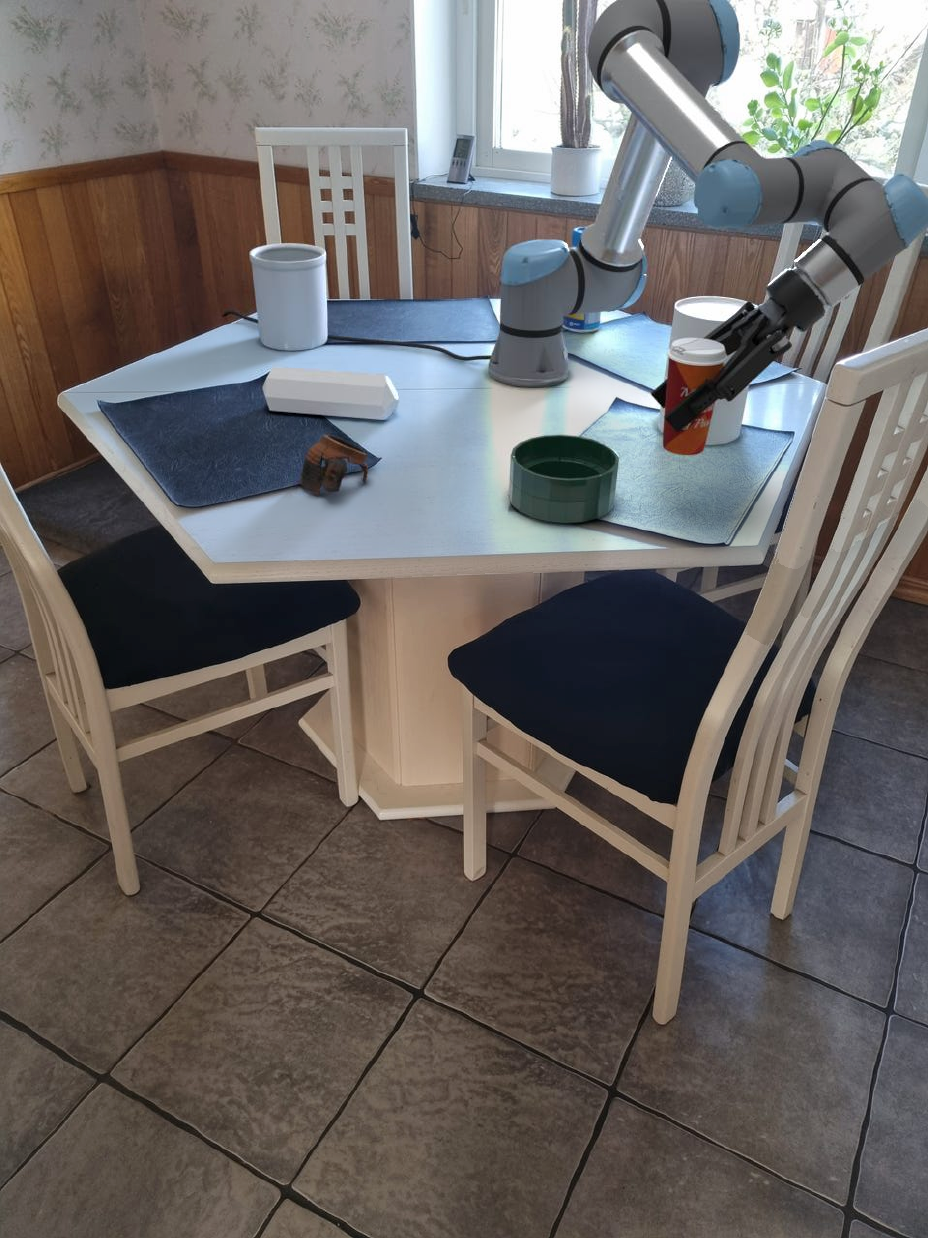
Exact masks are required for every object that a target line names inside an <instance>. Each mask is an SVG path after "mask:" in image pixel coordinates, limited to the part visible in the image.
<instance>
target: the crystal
mask: <svg viewBox="0 0 928 1238" xmlns="http://www.w3.org/2000/svg"><path fill="white" fill-rule="evenodd" d="M263 382H264V383H263V384H262V387H261V388H262V392H263V395H264V398H265V401H266V404H267V407H268V410H269V411H270V412H271V411H272V412H283V413H296V414H306V415H307V414H308V415H317V416H319V415H320V416H330V417H331V416H332V417H344V418H355V419H367V420H368V419H369V420H381V421H383V420H384V421H385V420H387V419H388V418H389V417H390V416H391V415H392V414H393V412H395V410H396V409H397V408H398V405H399V403H400V402H399V401H400V400H399V399H400V398H399V392H398V391H397V389H396V388H395V385H394V383H393V382H392V380H391V378H390V377H389V376H388V375H386V374H380V373H379V374H378V373H364V372H352V371H339V370H327V369H315V368H314V369H311V368H300V367H286V366H285V367H284V366H273V365H272V368H271V369H270V371H269V373H268V374H267V376H266V378H265V380H264V381H263Z"/></svg>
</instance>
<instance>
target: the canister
mask: <svg viewBox="0 0 928 1238" xmlns="http://www.w3.org/2000/svg"><path fill="white" fill-rule="evenodd" d="M746 302H748V301H747V300H743V299H738V298H734V297H725V296H716V295H715V296H714V295H703V296H701V295H700V296H691V297H686V298H682V299H679V300H677V301H676V302H675V304H674V307H673V314H672V315H673V316H672V323H671V330H670V337H669V344H668V350H669V349H670V348H671V344H672V343H673V342H674V341H675V340H678V339H682V338H704V337H705V336H707V335H708V334H709V333H711V332H712V331H713V330H714V329H716V328H717V327H718V326H720V325H721V324H722V323H724V322H725V321H726V320H727V319H729V318H730V317H731V316H733V315H734V314H735V313H736V312H737V311H738V310H739V309H740V308H741V307H742V306H743V305H744V304H745V303H746ZM752 304H753V305H754V306H755V307H758V306H759V305H757V304H755V303H753V302H752ZM735 352H736V351H735ZM735 352H733V353H732V354H730V355H728V356H727V357H728V359H727V361H726V362H724V365H725V364H726V363H727V362H728V360H729V359H730V358H731V357H732V356H733V354H734V353H735ZM668 364H669V357H668V356H667V359H666V365H665V373H664V380H663V382H664V381H665V380H666V379H667V377H668ZM724 365H723V366H724ZM749 387H750V384H749V385H748V386H747V387H746V388H745V389H744V390H742V391H741V392H740V393H739V394H738V395H737V396H736V397H735V398H734V399H733V400H732V401H729V402H728V401H727V400H726V399H722V400H720V399H718V400H716V401H715V405H714V409H713V414H712V418H711V422H710V427H709V431H708V435H707V439H706V443H705V446H718V445H723V444H724V445H725V444H728V443H731V442H733V441H736V440H737V439H738V438H739V437H740V435H741V430H742V425H743V419H744V415H745V411H746V410H745V409H746V404H747V400H748V393H749V389H750V388H749ZM664 416H665V408H664V409H663V407H662V406H661V405H660V409H659V417H658V424H657V427H658V430H659V432H661V433H662V434H663V430H664Z"/></svg>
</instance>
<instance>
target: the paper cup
mask: <svg viewBox="0 0 928 1238" xmlns="http://www.w3.org/2000/svg"><path fill="white" fill-rule="evenodd" d="M666 356H667V358H668V357H669V364H668V377H667V389H666V402H665V415H667V414H668V413H669V412H670V411H671V410H672V409H674V408H675V407H676V406H677V405H678V404H680V403H681V402H682V401H683V400H684V399H685V398H687V397H688V396H689V395H690V394H691V393H692V392H694V391H695V390H696V389H697V388H698V387H700V386H701V385H702V384H703V383H704V382H705V380H706V379H710V380H712V379H713V378H714V377H715V376H716V375H717V373H718V372H719V371H720V370H721V369H722V368H723V365H724V362H726V361H727V359H728V357H727V355H726V351H725V347H724V345H723V344H721V343H719V342H716V341H713V340H709V339H703V338H682V339H678V340H675V341H674V342H673V343H672V344H671V348H670V349H669V348H668V350H667V352H666ZM705 384H706V383H705ZM706 385H707V384H706ZM714 405H715V402H714V403H713V404H712V405H710V406H709V407H708V408H707V409H706V410H704V411H703V412H702V413H701V414H700V415H698V416H697V417H696V418H695V419H694V420H692V421H691V422H690V423H689V424H688V425H687V426H685V427H684V428H683V429H682V430H681V431H679V432H678V433H677V432H676V431H675V429H674V428H673V427H672V426H671V425H670V424H669V423H668V422H667V421H666V420H665V418H664V430H663V433H662V448H663V449H664V450H666V452H669V453H672V454H675V455H678V456H696V455H699V454H701V453H703V452H704V450H705V447H706V445H705V443H706V439H707V435H708V431H709V427H710V422H711V418H712V414H713V409H714Z"/></svg>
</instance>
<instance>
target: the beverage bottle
mask: <svg viewBox="0 0 928 1238" xmlns="http://www.w3.org/2000/svg"><path fill="white" fill-rule="evenodd" d="M586 227H587V226H579V227H575V228H574V229H573V230H572V232H571V233H572V234H571V236H572V237H571V246H572V247H571V248H573V247H577V246H578V244H579V241H580V237H581V234H582V232H583V230H584V229H585V228H586ZM601 314H602V312H595V313H585V314H575V315H566V316H563V325H562V328H563V329H565V330H566V331H569V332H573V333H582V334H583V333H592V332H596V331H598V330H599V329H600V327H601Z"/></svg>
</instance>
